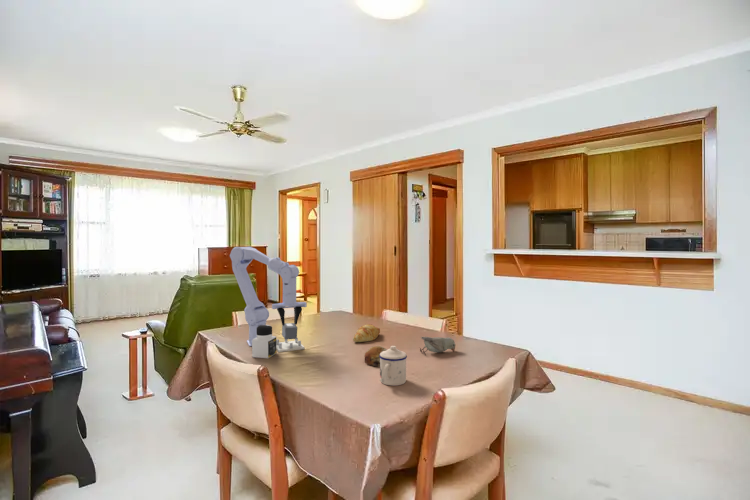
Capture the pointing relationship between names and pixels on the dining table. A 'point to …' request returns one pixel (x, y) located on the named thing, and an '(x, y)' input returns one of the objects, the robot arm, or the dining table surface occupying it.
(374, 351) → the bread roll
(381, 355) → the teacup with lid
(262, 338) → the medicine bottle
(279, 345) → the white peg board
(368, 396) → the dining table surface
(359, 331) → the croissant
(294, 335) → the block
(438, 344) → the decorative bird
